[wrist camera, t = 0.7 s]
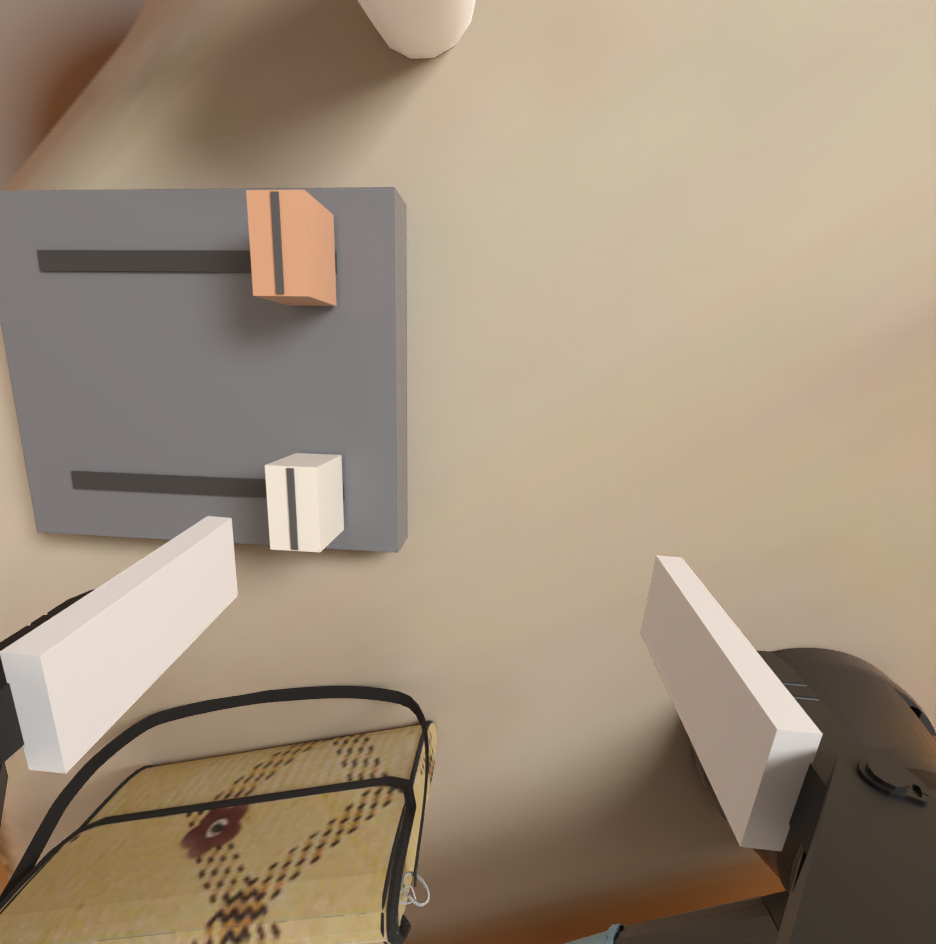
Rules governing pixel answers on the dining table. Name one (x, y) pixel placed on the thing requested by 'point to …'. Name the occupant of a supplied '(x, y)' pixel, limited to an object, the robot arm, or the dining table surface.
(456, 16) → the foam cup
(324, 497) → the fader
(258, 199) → the fader
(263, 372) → the slider panel
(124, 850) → the clutch purse
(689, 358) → the dining table surface
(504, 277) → the dining table surface
